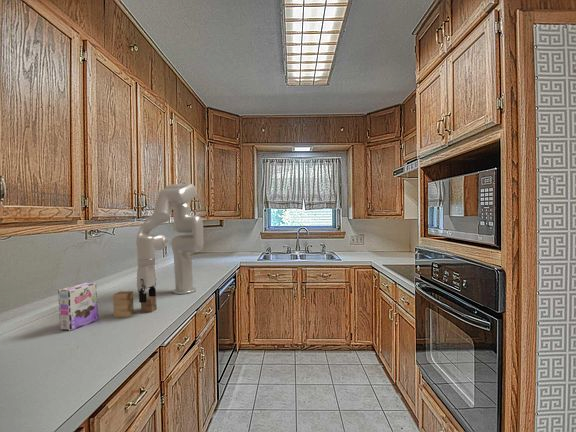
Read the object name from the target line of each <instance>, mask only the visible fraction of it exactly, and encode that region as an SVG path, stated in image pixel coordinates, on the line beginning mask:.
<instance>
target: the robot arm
mask: <svg viewBox="0 0 576 432" xmlns="http://www.w3.org/2000/svg"><path fill="white" fill-rule="evenodd" d="M196 196H197V188H196V186H195V185H194V184H192V183H173V184H168V185H166V186H165V187H164V189H161V190H160V191H159V193H158V196H157V197H156V198H157V200H156V202H155V206H154V209H153V213H152V214H151V215H150V216H149V217H148V218H147V219H146V220H145V221H144V222H143V223H142V224H141V225H140V227H139V228H138V232H137V235H136V240H135V242H136V251H137V254H136V255H137V257H136V258H137V273H136V288H137V292H138V293H137V294H138V301H139V302H138V303H140V304H141V303H144V302H147V298H146V297H147V293H146V292H147V289H148V297H156V298H157V293H156V291H157V289H156V288H157V286H156V285H157V277H156V269H155V266H156V255H155V254H156V251H161V250H164V249H165V248H166V247H167V246H168V244H169V243H168V241H169V240H168V238H167V236H165V235H164V234H161V233H159V234H158V233H157V234H155V233H154V234H151V232H152V230H154V229H155V228H156V227H159V226H160V225H162V224H164V223H167V222H169V221H170V220H171V217H172V212H173V228H174V230H175V232H176V233H181V234H179V235H175V236H174V237H172V238H171V244H170V245H171V249H172V255H173V265H174V266H173V267H174V284H175V288H174V289H173V290H172V294H176V295H185V294H191V293H194V292H196V291H197V288H196V287H194V280H193V277H194V276H193V261H192V257H191V255H190V254H189V253H199V252H202V251H203V249H204V244H205V242H204V222H203V219H202V217H201V216H200V215H196V214H195V215H194V214H193V215H191V214H190V206H189V204H188V203H189V202H191V201H192V200H194V199H195V197H196ZM182 233H184V234H182ZM185 233H186V234H185ZM187 233H192V234H187Z"/></svg>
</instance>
